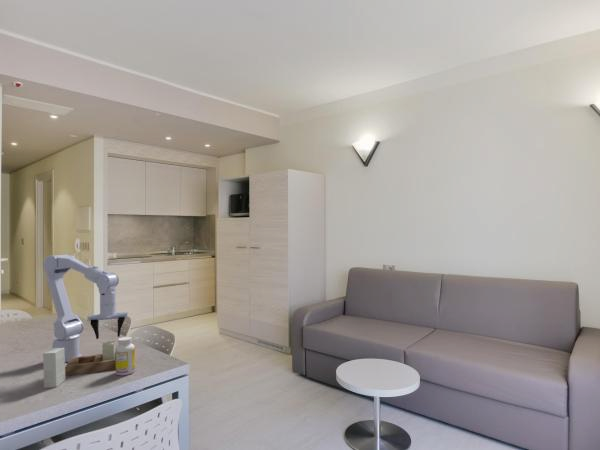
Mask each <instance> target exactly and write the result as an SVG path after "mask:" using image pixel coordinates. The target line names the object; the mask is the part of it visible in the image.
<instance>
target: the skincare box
mask: <svg viewBox="0 0 600 450" xmlns="http://www.w3.org/2000/svg"><path fill="white" fill-rule="evenodd" d="M42 355H43V357H42V359H43V360H42V361H43V362H42V363H43V364H42V365H43V388H44V389H47V388H48V389H52V388H57V387H58V386H60V385H61V384H63V383H64V382H65V381H66V376H65V367H66V362H65V350H64V348H52V347H51V349H49V350H47V351H45V352H43V354H42Z"/></svg>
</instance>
